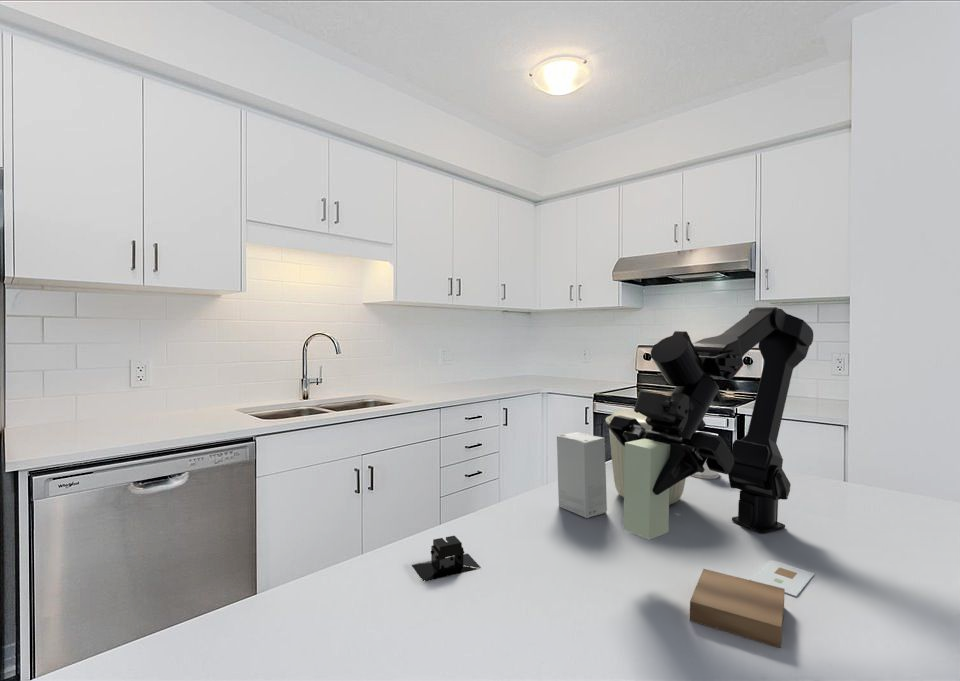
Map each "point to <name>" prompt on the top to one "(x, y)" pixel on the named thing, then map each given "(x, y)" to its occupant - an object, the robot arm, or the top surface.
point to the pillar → (645, 488)
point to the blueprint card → (783, 577)
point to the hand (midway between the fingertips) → (640, 488)
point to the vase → (707, 471)
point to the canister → (619, 457)
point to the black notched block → (446, 560)
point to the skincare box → (582, 474)
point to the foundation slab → (739, 606)
